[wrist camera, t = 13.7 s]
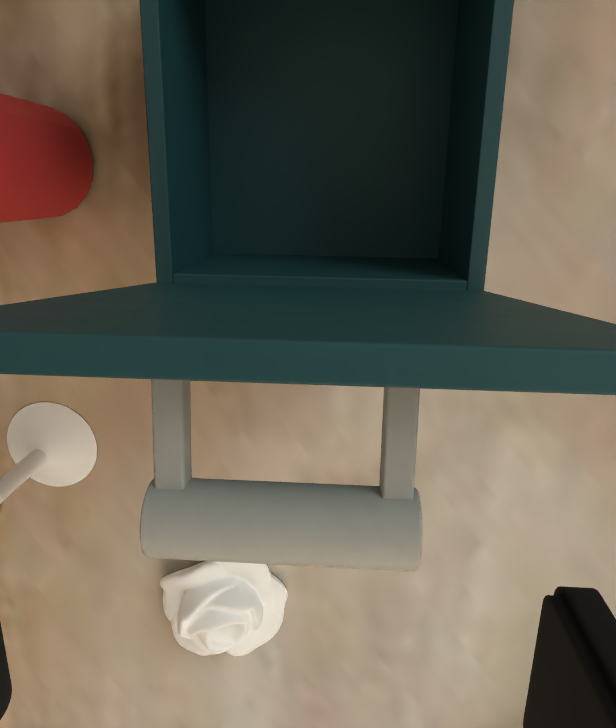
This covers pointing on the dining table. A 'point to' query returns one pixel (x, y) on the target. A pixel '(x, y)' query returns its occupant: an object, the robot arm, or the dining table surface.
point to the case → (324, 140)
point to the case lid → (301, 366)
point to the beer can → (40, 161)
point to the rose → (223, 606)
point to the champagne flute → (48, 447)
